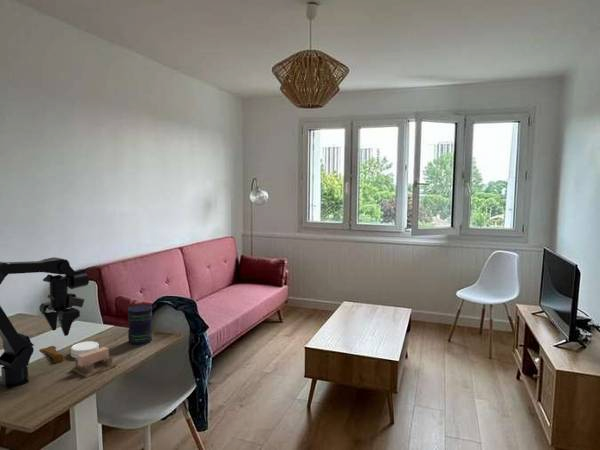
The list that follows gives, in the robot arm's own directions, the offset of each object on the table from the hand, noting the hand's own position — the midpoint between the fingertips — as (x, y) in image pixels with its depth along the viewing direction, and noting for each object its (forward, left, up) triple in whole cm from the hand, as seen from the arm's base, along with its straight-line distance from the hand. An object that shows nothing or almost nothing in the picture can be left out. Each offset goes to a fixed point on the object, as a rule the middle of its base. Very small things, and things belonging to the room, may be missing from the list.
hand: (60, 332), depth 151 cm
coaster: (+11, +4, -13) cm, 17 cm away
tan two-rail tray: (+6, -12, -12) cm, 18 cm away
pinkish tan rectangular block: (+6, -12, -10) cm, 17 cm away
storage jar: (+32, -2, -13) cm, 35 cm away
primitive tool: (+2, +13, -13) cm, 19 cm away
